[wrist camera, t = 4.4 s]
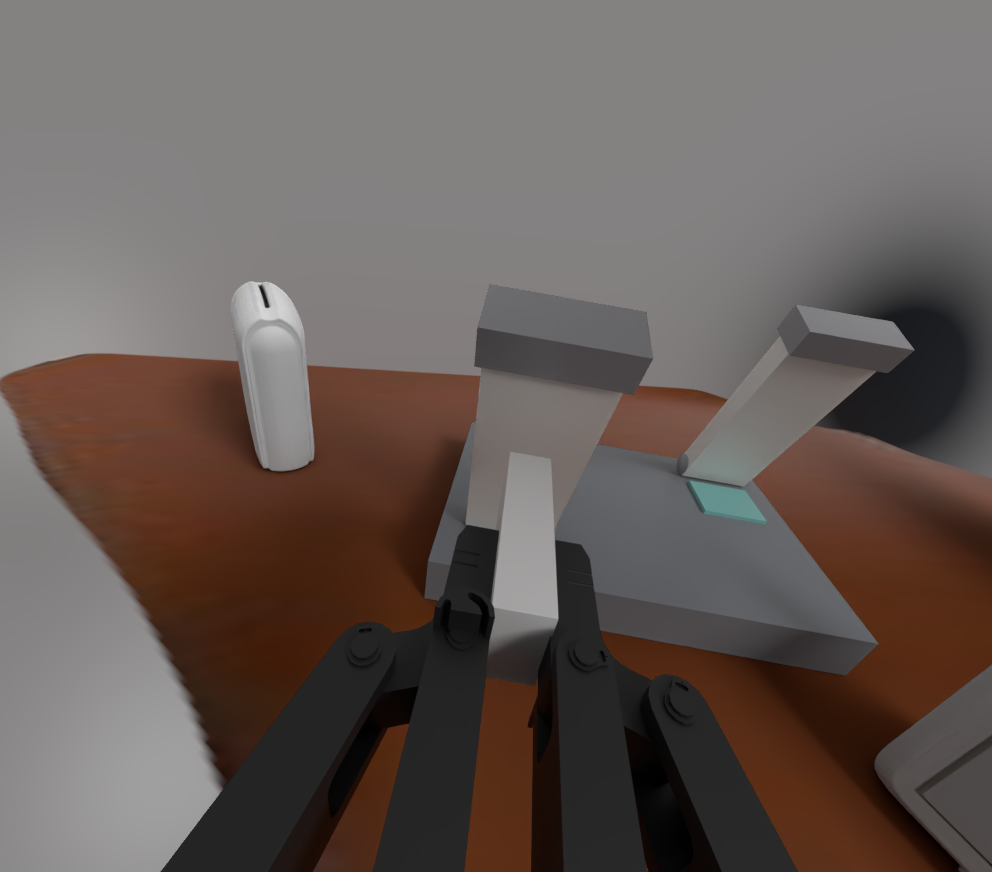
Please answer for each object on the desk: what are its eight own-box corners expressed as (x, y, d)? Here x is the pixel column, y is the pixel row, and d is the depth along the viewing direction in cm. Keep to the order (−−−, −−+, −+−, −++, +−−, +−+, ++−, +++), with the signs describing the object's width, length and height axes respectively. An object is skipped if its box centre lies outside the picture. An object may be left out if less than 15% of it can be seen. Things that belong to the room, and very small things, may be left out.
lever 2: (745, 493, 32) (914, 350, 21) (678, 481, 33) (810, 331, 21) (738, 468, 34) (893, 322, 22) (674, 457, 34) (795, 304, 22)
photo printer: (248, 413, 37) (222, 268, 30) (300, 408, 39) (286, 271, 33) (257, 479, 29) (226, 306, 23) (321, 468, 32) (308, 307, 25)
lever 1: (550, 548, 24) (653, 358, 12) (460, 532, 24) (477, 327, 12) (553, 512, 25) (646, 312, 14) (468, 496, 25) (489, 284, 14)
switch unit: (845, 675, 23) (882, 640, 21) (424, 598, 23) (428, 556, 21) (730, 497, 37) (747, 468, 35) (468, 450, 37) (472, 418, 35)
